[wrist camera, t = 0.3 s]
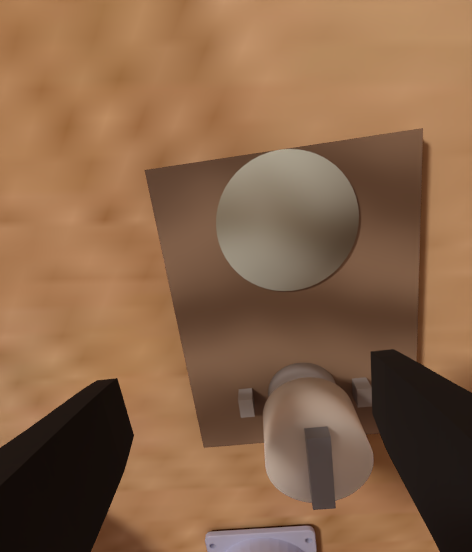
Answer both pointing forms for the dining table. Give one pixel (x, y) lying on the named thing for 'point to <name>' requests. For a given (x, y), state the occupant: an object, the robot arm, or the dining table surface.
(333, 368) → the base
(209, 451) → the dining table surface
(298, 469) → the knob
